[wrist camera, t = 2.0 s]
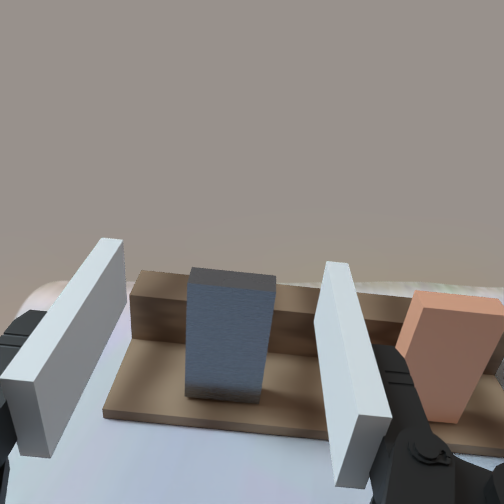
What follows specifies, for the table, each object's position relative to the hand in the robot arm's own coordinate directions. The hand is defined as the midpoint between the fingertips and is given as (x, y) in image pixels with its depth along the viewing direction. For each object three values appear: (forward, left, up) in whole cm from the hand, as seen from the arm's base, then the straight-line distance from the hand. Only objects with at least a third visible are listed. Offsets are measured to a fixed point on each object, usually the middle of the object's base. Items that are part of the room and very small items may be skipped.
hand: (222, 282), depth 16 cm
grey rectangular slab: (0, -12, -19) cm, 22 cm away
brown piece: (-8, -15, -20) cm, 26 cm away
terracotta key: (-16, -12, -19) cm, 27 cm away
